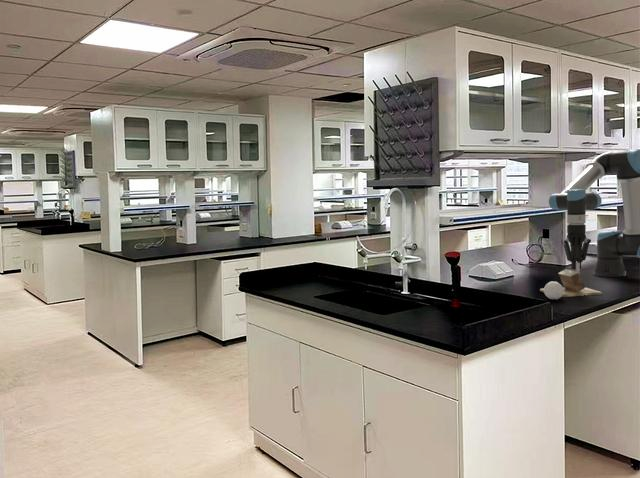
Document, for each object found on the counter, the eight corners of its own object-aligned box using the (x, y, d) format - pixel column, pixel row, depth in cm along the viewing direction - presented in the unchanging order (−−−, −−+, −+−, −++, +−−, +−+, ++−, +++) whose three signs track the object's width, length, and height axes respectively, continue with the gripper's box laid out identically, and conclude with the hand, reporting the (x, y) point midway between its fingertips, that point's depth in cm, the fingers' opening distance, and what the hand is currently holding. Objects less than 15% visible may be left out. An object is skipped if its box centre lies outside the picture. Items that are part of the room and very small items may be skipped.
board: (580, 288, 263) (580, 286, 263) (601, 294, 248) (601, 292, 247) (540, 290, 261) (539, 288, 261) (558, 297, 245) (558, 294, 245)
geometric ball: (549, 305, 241) (537, 291, 242) (555, 296, 247) (543, 282, 247) (563, 299, 236) (551, 284, 236) (570, 289, 241) (557, 275, 241)
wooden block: (572, 284, 259) (565, 269, 258) (585, 288, 250) (578, 272, 249) (564, 288, 259) (558, 273, 258) (577, 292, 249) (570, 276, 248)
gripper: (567, 225, 247) (567, 278, 249) (595, 223, 249) (594, 277, 251) (558, 224, 255) (558, 276, 257) (585, 223, 256) (584, 274, 258)
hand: (576, 276), depth 254 cm, fingers closed
